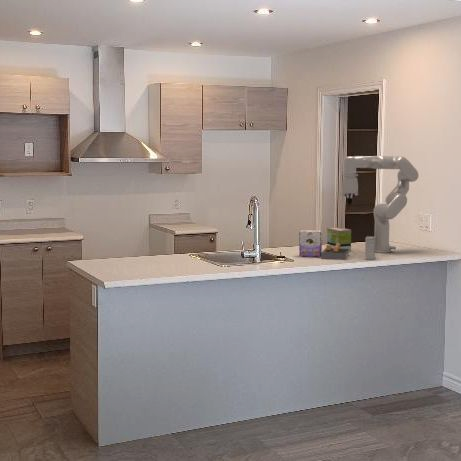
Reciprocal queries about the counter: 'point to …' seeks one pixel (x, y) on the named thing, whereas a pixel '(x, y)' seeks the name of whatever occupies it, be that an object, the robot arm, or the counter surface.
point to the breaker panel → (335, 254)
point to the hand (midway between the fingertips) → (349, 204)
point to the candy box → (310, 243)
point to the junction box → (369, 248)
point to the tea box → (339, 237)
